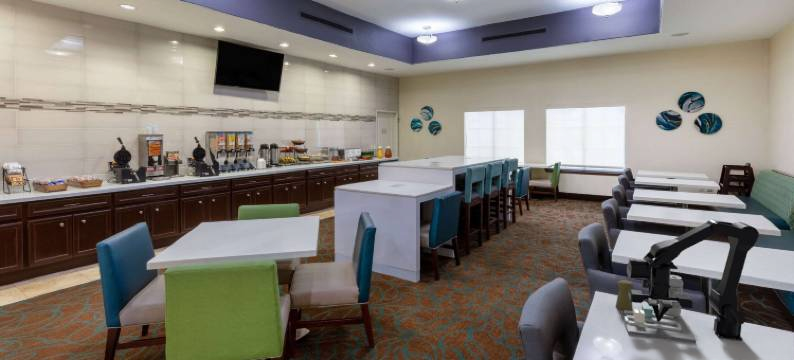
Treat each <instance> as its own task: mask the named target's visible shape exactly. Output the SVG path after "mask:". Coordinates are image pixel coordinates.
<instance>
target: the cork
mask: <svg viewBox="0 0 794 360" xmlns="http://www.w3.org/2000/svg"><path fill="white" fill-rule="evenodd" d="M617 287H618V289H619V290H618V294H617V296H616V298H617V299H616V303H615V307H617V308H616V309H618V310H620V311H623V312H625V310H627V311H634V307H633V302H631V301H630V298H629V296H628V294H629V290H633V289H634V288H633V287H634V285H633V282H631V281H629V280H624V279H623V280H621V279H620V280H619V281H618V282H617Z"/></svg>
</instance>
